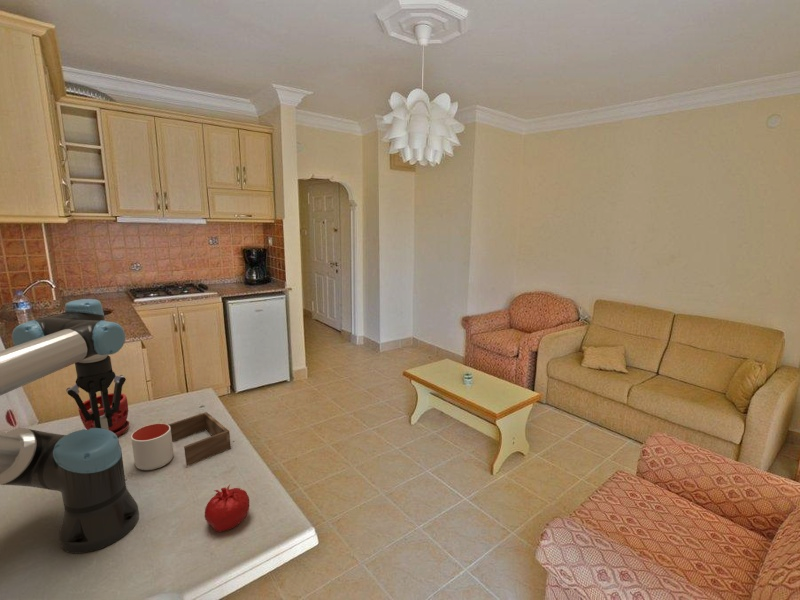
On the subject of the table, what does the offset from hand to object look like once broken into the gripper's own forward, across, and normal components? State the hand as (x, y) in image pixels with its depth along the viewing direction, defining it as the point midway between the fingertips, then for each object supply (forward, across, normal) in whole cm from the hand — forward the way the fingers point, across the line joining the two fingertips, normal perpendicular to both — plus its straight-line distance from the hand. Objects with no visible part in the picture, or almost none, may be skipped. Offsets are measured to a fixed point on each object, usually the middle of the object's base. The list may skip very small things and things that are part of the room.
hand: (106, 439), depth 112 cm
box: (+12, -24, 0) cm, 27 cm away
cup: (+12, -11, 0) cm, 16 cm away
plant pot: (+13, -5, -29) cm, 32 cm away
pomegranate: (+12, -16, +39) cm, 44 cm away
